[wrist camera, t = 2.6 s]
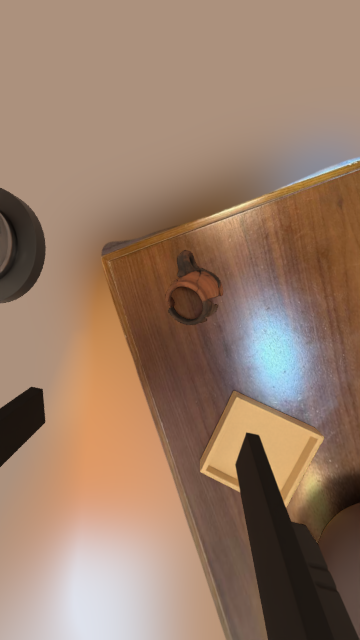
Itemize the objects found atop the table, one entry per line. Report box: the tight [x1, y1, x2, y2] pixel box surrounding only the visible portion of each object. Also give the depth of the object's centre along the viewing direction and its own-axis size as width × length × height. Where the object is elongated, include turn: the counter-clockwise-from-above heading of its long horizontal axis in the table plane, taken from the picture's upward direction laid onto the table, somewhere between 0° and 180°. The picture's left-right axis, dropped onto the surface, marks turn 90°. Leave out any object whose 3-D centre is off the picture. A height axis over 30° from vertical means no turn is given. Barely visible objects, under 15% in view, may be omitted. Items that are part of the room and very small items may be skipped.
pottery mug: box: [165, 250, 223, 325], centre depth 30 cm, size 12×10×8 cm
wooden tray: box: [200, 391, 324, 507], centre depth 32 cm, size 16×16×2 cm
